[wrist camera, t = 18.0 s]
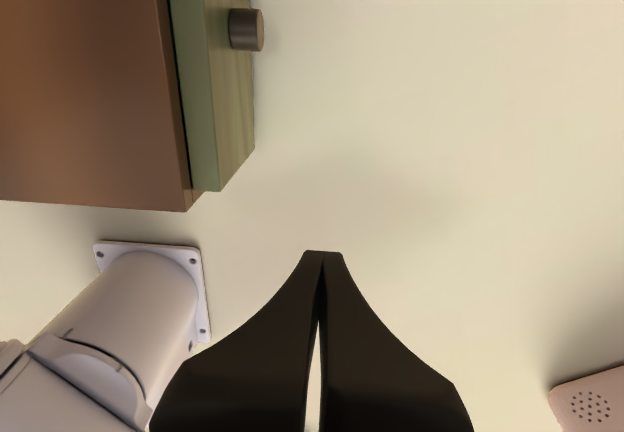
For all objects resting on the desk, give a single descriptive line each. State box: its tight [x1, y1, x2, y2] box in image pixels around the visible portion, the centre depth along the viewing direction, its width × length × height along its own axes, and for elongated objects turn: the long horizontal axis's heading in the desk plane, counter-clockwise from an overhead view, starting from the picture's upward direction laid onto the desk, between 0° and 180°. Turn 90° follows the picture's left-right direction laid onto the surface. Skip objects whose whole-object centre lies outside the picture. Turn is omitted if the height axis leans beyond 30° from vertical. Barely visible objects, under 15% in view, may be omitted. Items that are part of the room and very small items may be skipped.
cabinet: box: [0, 0, 205, 212], centre depth 15 cm, size 15×14×9 cm
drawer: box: [169, 0, 264, 192], centre depth 15 cm, size 15×12×7 cm
